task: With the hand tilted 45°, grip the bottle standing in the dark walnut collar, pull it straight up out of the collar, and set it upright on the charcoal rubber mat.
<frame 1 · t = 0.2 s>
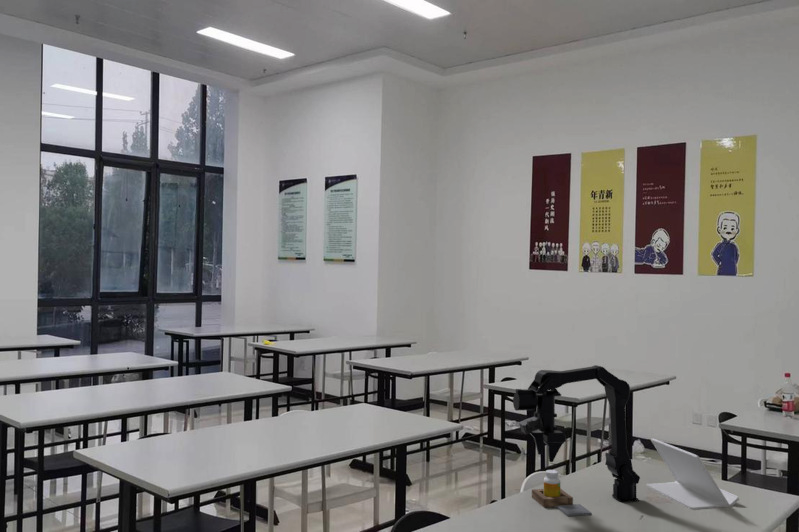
hand: (545, 458, 216), 15 cm above the table, tool pointing down, fingers open, 9 cm apart
tablet stand: (690, 496, 225), on the table
walnut collar: (551, 501, 218), on the table
supplement bottle: (551, 501, 218), resting in walnut collar
rubber mat: (573, 511, 209), on the table
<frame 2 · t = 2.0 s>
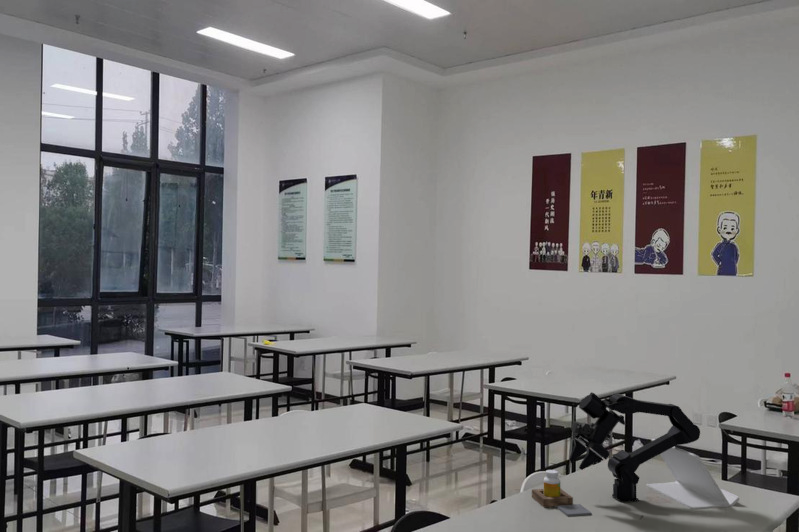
hand: (575, 464, 220), 12 cm above the table, tool tilted 40°, fingers open, 9 cm apart
tablet stand: (690, 496, 226), on the table, touching arm
everything else where it was.
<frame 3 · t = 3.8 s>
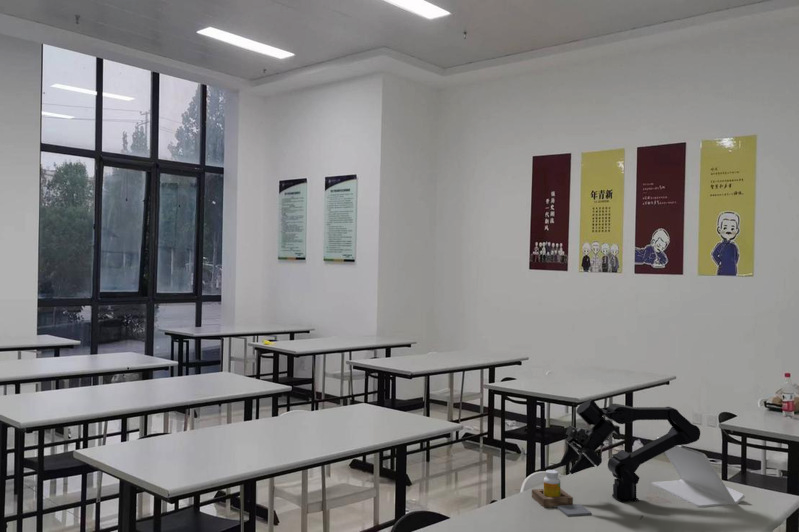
hand: (565, 468, 219), 10 cm above the table, tool tilted 45°, fingers open, 9 cm apart
tablet stand: (696, 494, 227), on the table
everything else where it was.
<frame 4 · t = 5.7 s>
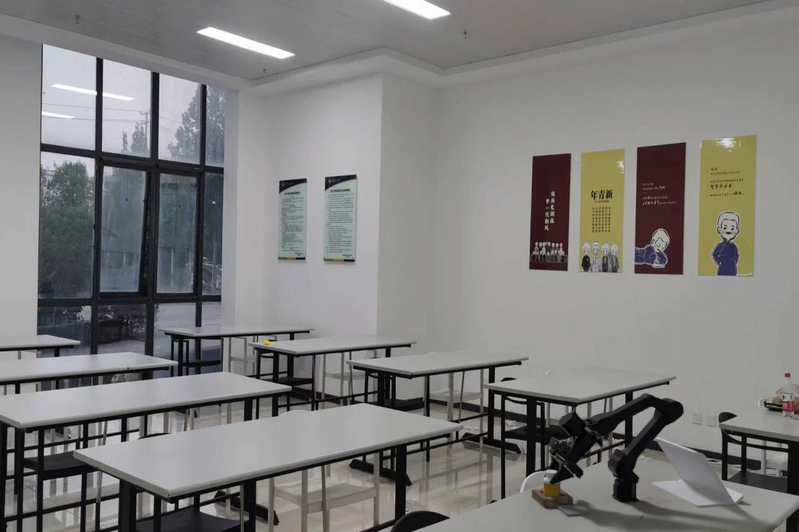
hand: (547, 480, 218), 7 cm above the table, tool tilted 45°, fingers closed on supplement bottle, 5 cm apart
supplement bottle: (551, 501, 218), resting in walnut collar, touching gripper
everything else where it was.
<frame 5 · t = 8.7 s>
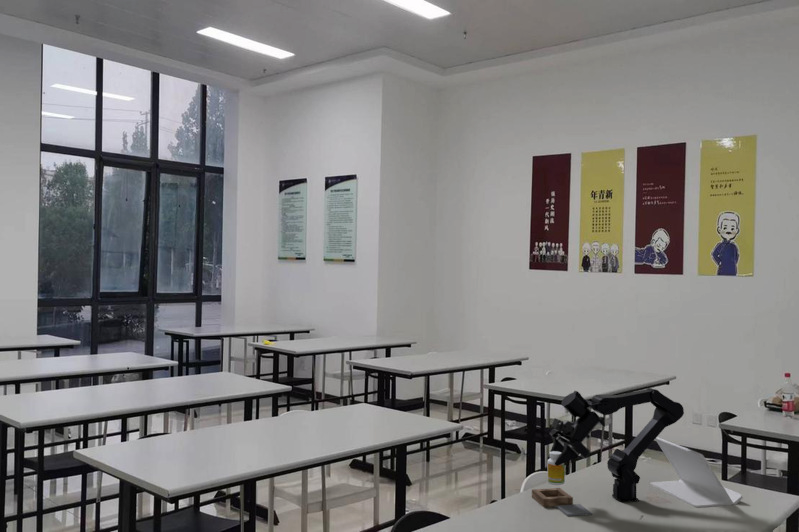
hand: (551, 462, 216), 13 cm above the table, tool tilted 45°, fingers closed on supplement bottle, 5 cm apart
supplement bottle: (556, 483, 216), point 6 cm above the table, touching gripper
everything else where it was.
when the fingers open (8 cm above the table, at t = 11.8 s): supplement bottle drops 1 cm, resting on rubber mat.
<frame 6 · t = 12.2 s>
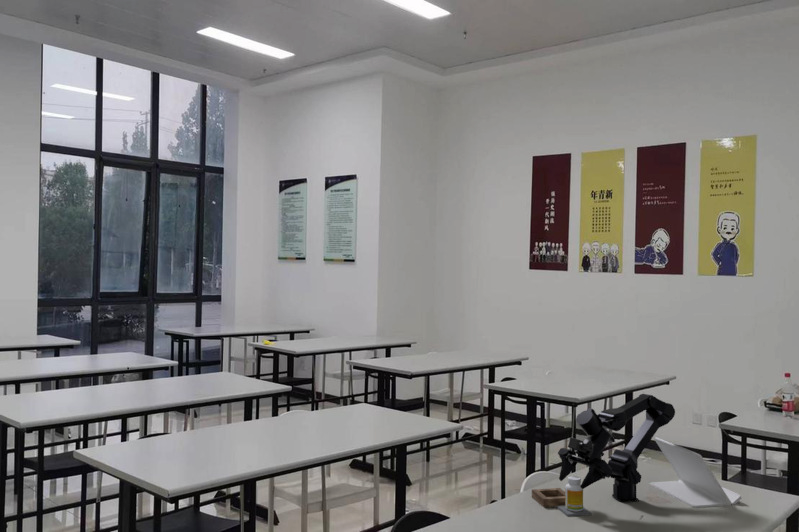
hand: (570, 483, 209), 9 cm above the table, tool tilted 45°, fingers open, 9 cm apart
supplement bottle: (574, 509, 209), resting on rubber mat
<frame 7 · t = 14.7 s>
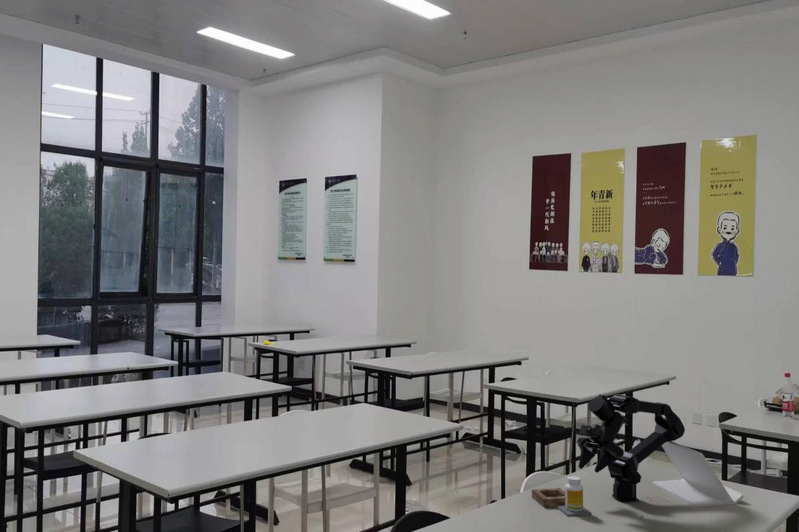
hand: (587, 470, 214), 12 cm above the table, tool tilted 40°, fingers open, 9 cm apart
tablet stand: (695, 493, 228), on the table
everything else where it was.
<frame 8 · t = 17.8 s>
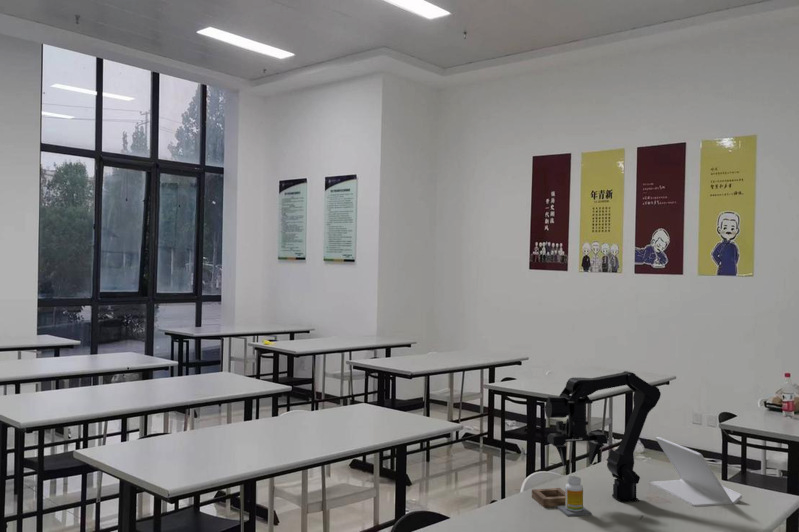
hand: (577, 464, 218), 12 cm above the table, tool pointing down, fingers open, 9 cm apart
nothing on the table moved.
at the end: supplement bottle inside the target area on the rubber mat (0.2 cm from its centre), point 0.4 cm above the rubber mat's base; supplement bottle tilted 0°; the gripper is holding nothing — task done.
